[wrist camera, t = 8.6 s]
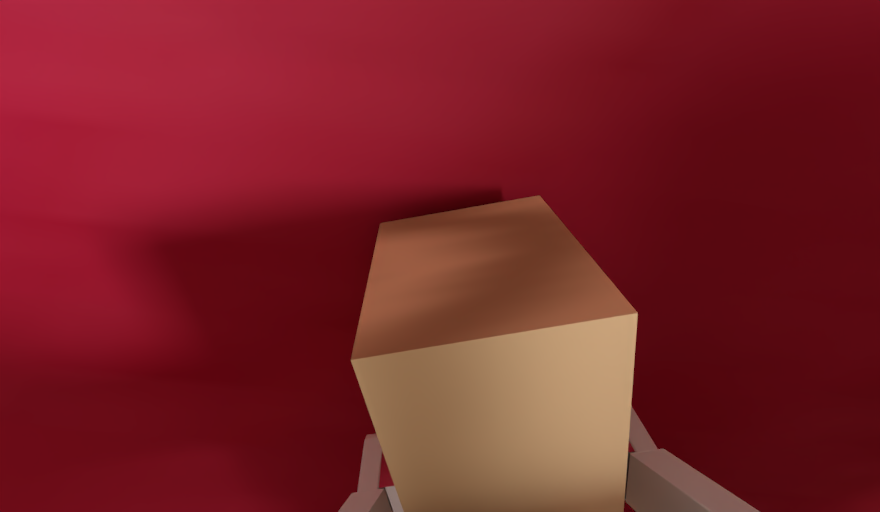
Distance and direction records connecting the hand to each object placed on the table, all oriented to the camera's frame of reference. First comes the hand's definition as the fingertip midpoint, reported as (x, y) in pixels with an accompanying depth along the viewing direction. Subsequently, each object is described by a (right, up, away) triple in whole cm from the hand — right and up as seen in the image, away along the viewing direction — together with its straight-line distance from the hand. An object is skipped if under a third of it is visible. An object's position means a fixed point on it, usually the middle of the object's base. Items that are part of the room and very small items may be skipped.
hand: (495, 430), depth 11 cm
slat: (0, -2, +3) cm, 4 cm away
